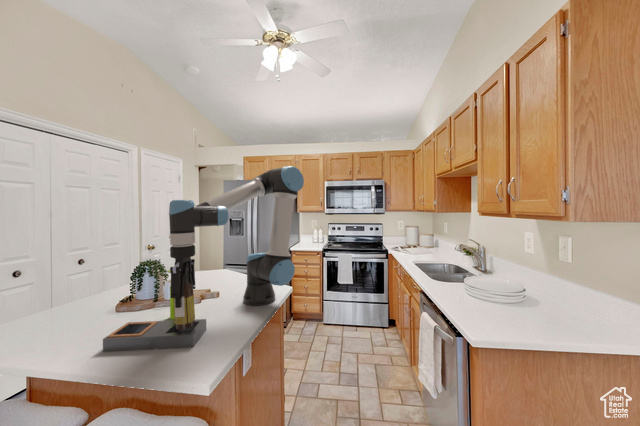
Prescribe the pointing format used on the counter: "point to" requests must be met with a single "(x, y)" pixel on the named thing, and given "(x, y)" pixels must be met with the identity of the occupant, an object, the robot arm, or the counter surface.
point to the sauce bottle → (186, 306)
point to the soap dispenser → (171, 305)
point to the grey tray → (153, 336)
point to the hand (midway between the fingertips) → (184, 312)
